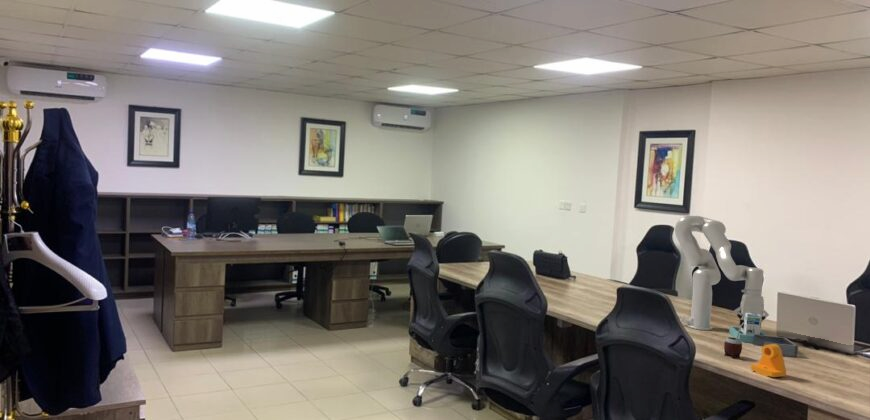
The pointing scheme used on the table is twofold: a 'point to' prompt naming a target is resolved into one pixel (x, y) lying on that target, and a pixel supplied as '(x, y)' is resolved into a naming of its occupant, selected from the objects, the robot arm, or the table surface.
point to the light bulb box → (751, 324)
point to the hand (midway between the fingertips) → (749, 328)
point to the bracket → (770, 362)
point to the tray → (742, 335)
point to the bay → (785, 344)
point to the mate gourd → (733, 346)
